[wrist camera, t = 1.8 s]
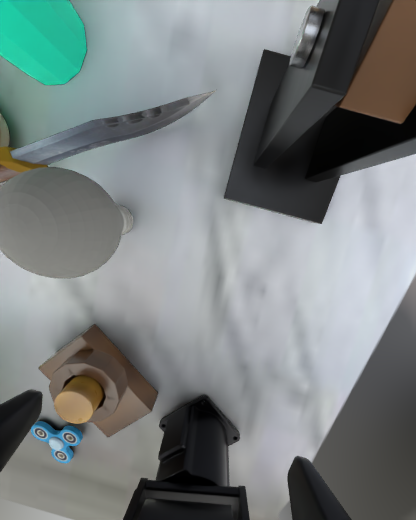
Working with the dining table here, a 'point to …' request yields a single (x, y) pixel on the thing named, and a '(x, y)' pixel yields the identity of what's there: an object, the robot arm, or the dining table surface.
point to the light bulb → (59, 222)
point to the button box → (102, 379)
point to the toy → (58, 439)
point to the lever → (386, 65)
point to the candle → (42, 38)
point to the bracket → (312, 118)
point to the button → (79, 399)
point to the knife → (93, 136)
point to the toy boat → (3, 133)
